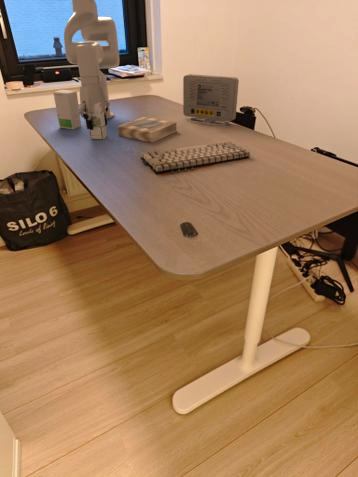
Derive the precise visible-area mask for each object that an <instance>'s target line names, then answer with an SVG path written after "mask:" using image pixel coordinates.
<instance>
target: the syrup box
mask: <svg viewBox="0 0 358 477" xmlns="http://www.w3.org/2000/svg"><path fill="white" fill-rule="evenodd" d="M86 111H88V109H87V108H86ZM88 114H89V113H87V116H88ZM91 120H92V123H93V130H90V129H88V131H89V138H90V140H101V141H103V140H105V139H106V138H107V136H108V132H107V125H105V118H104V110H102V106H101V103H100V102H99V103H96V104H95V105H94V112H93V113H92V115H91Z"/></svg>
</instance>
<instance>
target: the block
mask: <svg viewBox="0 0 358 477" xmlns="http://www.w3.org/2000/svg"><path fill="white" fill-rule="evenodd" d="M179 226H180V229H181V232H182V235H183V236H184V237H186V238H193V237H196V236H198V235H199V232H198V230H197V229H196V228H195V226H194V225H193V223H192V222H189V221H184V222H182V223H180V225H179Z"/></svg>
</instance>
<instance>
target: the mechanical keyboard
mask: <svg viewBox="0 0 358 477" xmlns="http://www.w3.org/2000/svg"><path fill="white" fill-rule="evenodd" d="M250 153H251V152H250V151H249V150H247V149H246V148H242V147H240V146H238V145H236V144H235V143H233V142H232V141H224V142H218V143H212V144H211V143H210V144H207V145H206V144H202V145H195V146H194V145H193V146H187V147H186V146H185V147H181V148H175V149H168V150H159V149H154V151H153V150H148V152H147V151H142V153H141V156H142V157H140V160H141V161H142V163H143V165H144V166H145V167H148V169H150V170H151V171H152V172H153V174H155V175H156V176H161V177H166V176H171V175H176V174H182V173H188V172H194V171H198V170H200V169H205V168H207V169H208V168H210V167H213V166H215V165H216V166H217V165H220V164H227V163H231V162H237V161H243V160H248V159H250V157H251V154H250Z"/></svg>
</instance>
